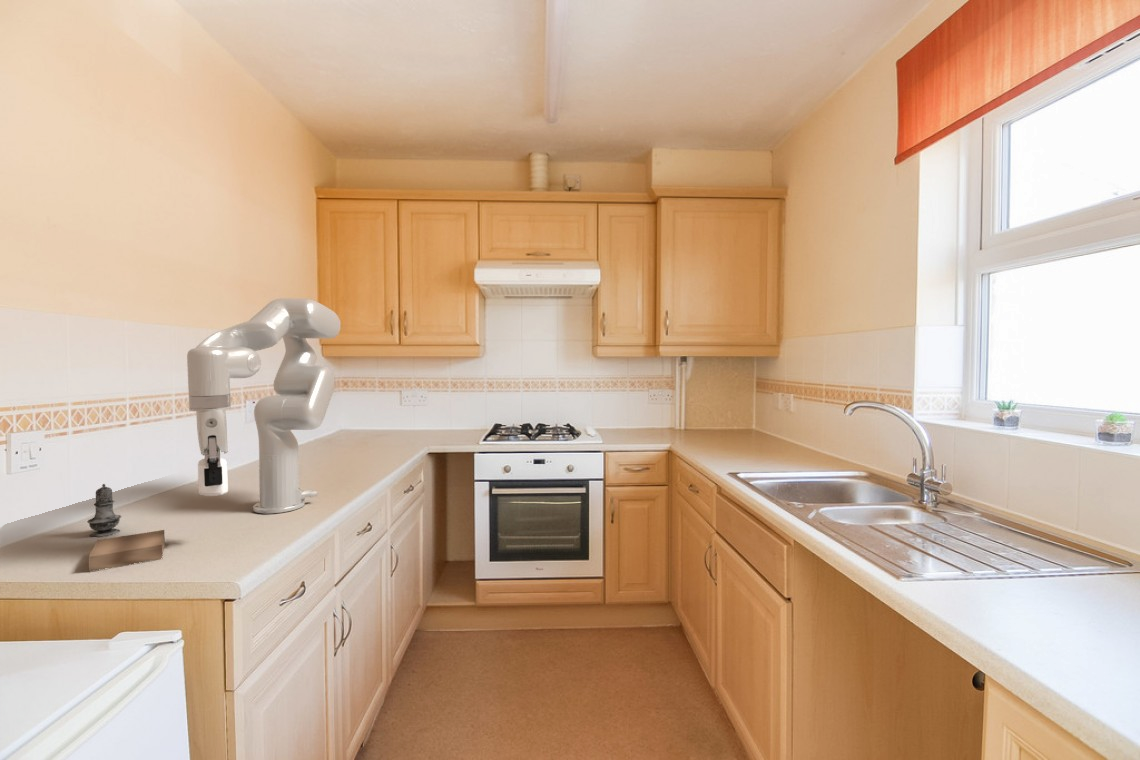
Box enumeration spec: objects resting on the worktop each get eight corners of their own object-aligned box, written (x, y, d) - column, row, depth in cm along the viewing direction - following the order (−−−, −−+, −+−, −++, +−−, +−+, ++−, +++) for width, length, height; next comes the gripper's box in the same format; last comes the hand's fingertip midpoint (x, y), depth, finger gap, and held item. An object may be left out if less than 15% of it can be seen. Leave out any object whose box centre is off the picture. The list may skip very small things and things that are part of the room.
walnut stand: (164, 542, 111) (164, 529, 111) (162, 558, 102) (161, 544, 102) (97, 553, 104) (97, 540, 104) (89, 572, 96) (88, 557, 96)
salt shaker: (128, 529, 119) (127, 481, 119) (103, 538, 113) (101, 487, 113) (106, 528, 120) (105, 480, 119) (80, 537, 114) (78, 486, 113)
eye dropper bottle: (208, 498, 108) (206, 444, 107) (196, 494, 111) (194, 441, 110) (230, 493, 112) (228, 441, 111) (218, 489, 115) (216, 438, 114)
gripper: (232, 405, 106) (235, 488, 107) (228, 398, 119) (230, 471, 120) (188, 408, 101) (192, 494, 102) (189, 400, 114) (192, 476, 116)
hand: (213, 481), depth 111 cm, fingers closed on eye dropper bottle, 4 cm apart
